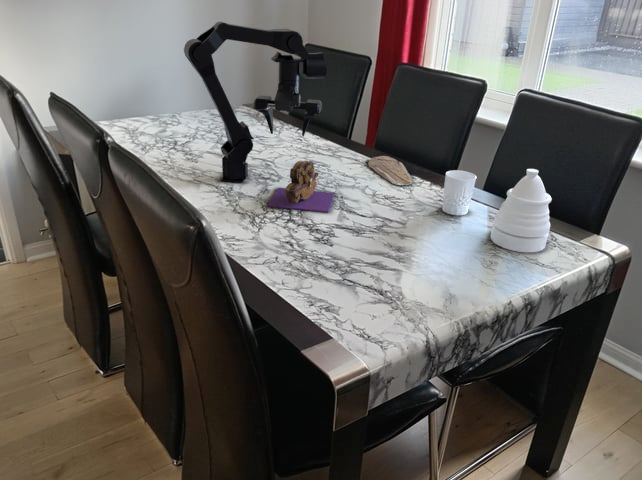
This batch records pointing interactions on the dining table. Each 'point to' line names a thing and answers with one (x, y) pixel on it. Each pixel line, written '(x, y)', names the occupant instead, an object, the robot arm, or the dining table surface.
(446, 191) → the white cup
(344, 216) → the dining table surface
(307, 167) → the wooden carving
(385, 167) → the fish fossil
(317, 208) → the cloth
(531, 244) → the honey pot
